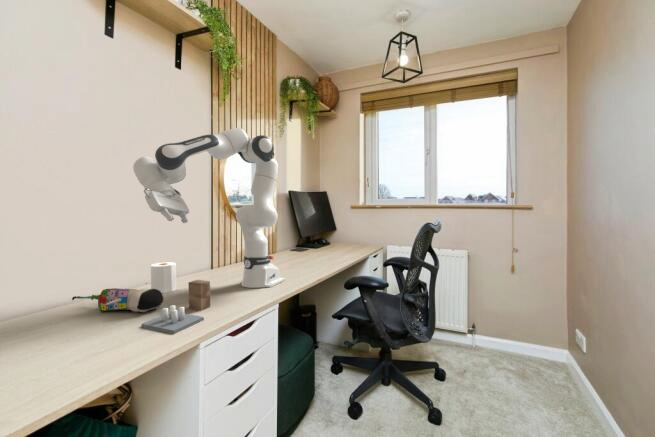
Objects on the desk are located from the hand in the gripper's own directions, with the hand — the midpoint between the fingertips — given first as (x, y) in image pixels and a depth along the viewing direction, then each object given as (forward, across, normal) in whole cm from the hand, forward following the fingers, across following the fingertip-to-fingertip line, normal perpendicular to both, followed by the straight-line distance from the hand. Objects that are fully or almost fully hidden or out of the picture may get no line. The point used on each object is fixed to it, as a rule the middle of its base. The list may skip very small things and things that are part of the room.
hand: (178, 221), depth 116 cm
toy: (+16, -2, +35) cm, 38 cm away
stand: (+33, -13, +14) cm, 38 cm away
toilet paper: (+13, +22, +33) cm, 42 cm away
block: (+32, +2, +12) cm, 34 cm away
